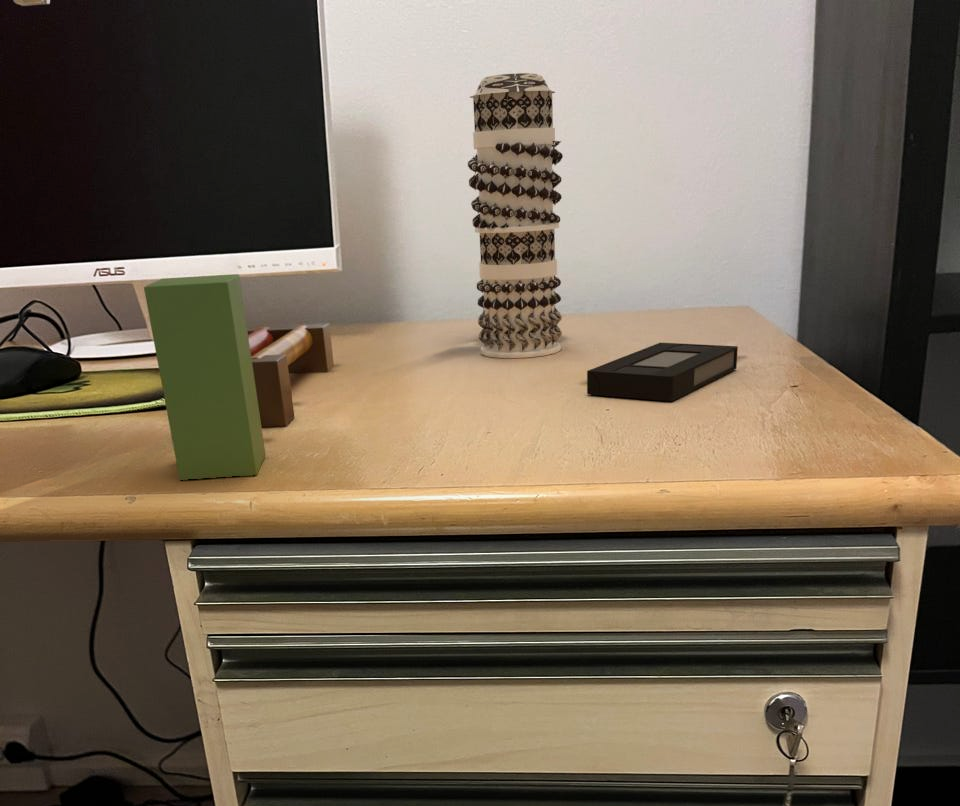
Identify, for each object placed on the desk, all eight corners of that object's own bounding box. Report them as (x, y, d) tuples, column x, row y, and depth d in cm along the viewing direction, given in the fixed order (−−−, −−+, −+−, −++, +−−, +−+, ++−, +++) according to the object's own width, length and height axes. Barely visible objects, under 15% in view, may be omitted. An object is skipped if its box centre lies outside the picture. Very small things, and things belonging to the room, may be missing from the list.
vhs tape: (737, 369, 88) (738, 346, 87) (671, 402, 78) (672, 376, 77) (659, 364, 92) (660, 342, 91) (587, 395, 82) (587, 370, 81)
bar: (179, 481, 64) (143, 286, 59) (193, 460, 69) (161, 278, 64) (256, 475, 65) (227, 281, 59) (265, 455, 69) (239, 274, 64)
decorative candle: (581, 345, 104) (579, 73, 93) (535, 360, 97) (528, 68, 86) (508, 341, 109) (498, 82, 98) (459, 355, 102) (443, 78, 91)
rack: (186, 430, 77) (174, 363, 75) (253, 380, 95) (245, 325, 93) (286, 426, 77) (277, 359, 75) (335, 376, 95) (329, 321, 93)
